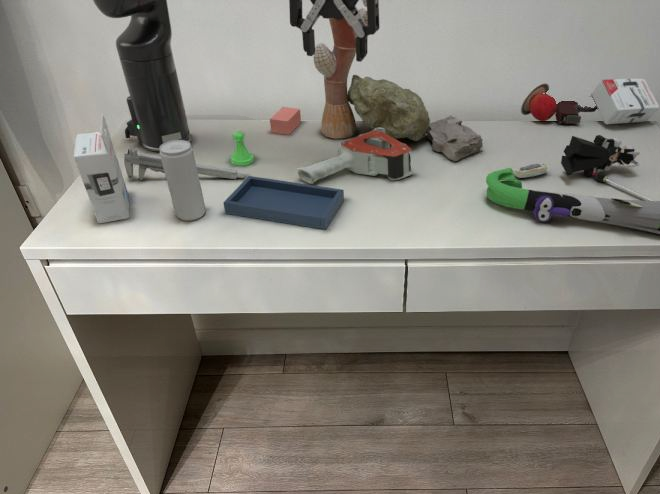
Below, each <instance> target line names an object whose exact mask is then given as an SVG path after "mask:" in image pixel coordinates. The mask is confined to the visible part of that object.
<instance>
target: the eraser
mask: <svg viewBox="0 0 660 494" xmlns="http://www.w3.org/2000/svg"><path fill="white" fill-rule="evenodd" d="M301 123H302V118H301V109H300V108H296V107H288V106H282V107H281V108H280V109H279V110H277V111H276V113H274V115H272V116H271V117H270V118H269V125H270V132H271V133H272V134H279V135H286V136H290V135H291V133H292V132H294V130H295V129H296V128H298V126H299V125H300V124H301Z"/></svg>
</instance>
